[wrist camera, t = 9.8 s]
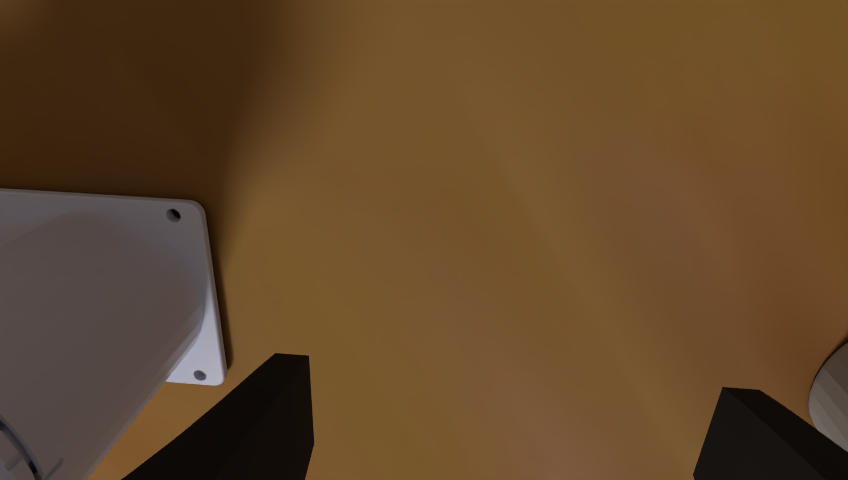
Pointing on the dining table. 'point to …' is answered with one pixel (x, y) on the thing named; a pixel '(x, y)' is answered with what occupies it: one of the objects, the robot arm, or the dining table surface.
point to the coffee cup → (832, 398)
